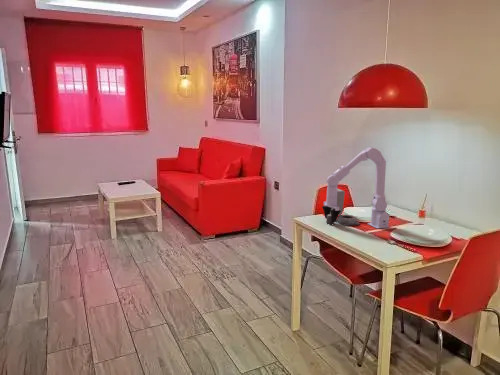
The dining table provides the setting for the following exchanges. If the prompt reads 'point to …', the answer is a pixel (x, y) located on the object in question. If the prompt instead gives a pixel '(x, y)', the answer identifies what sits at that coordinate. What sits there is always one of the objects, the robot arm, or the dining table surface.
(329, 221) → the cap
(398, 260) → the dining table surface
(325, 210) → the robot arm
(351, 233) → the dining table surface
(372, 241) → the dining table surface
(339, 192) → the skincare box
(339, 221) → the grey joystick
